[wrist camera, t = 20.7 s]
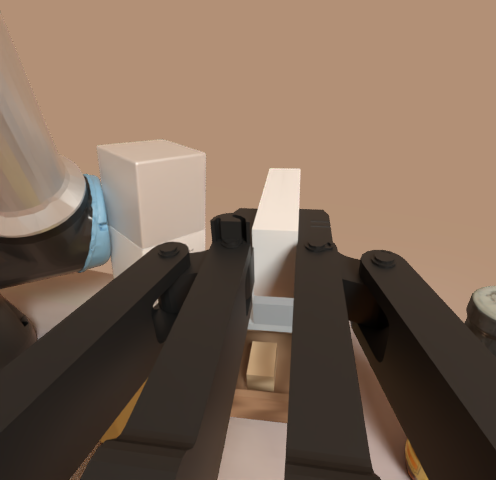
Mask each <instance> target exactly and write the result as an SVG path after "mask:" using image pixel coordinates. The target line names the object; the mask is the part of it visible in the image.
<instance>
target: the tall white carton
mask: <svg viewBox="0 0 496 480" xmlns="http://www.w3.org/2000/svg"><path fill="white" fill-rule="evenodd" d="M97 154H98V162H99V169H100V177H101V184H102V191H103V196H104V201H105V207H106V213H107V222H108V223H107V225H108V229H109V235H110V245H111V261H112V269H113V277H114V279H115V278H116V277H117V276H119V275H120V274H121V273H122V272H124V271H125V270H126V269H127V268H129V267H130V266H131V265H132V264H134V263H135V262H136V261H137V260H139V259H140V258H141V257H142V256H144V255H145V254H146V253H147V252H149V251H150V250H151V249H152V248H154V247H156V246H157V245H160V244H163V243H165V242H180V243H183V244H186V245H187V246H188V248H189V253H194V252H201V251H205V194H206V193H205V192H206V188H205V187H206V154H205V153H204V152H201V151H198V150H195V149H192V148H189V147H186V146H183V145H180V144H176V143H173V142H170V141H167V140H164V139H161V140H149V141H140V142H128V143H119V144H107V145H98V146H97ZM157 303H158V299H157V300H156V302H155V303H154V305H153V307H154V306H155V305H156V304H157Z"/></svg>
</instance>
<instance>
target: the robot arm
mask: <svg viewBox="0 0 496 480" xmlns="http://www.w3.org/2000/svg"><path fill="white" fill-rule="evenodd" d="M299 196H300V169H281V168H275V169H273V168H270V170H269V173H268V177H267V180H266V183H265V187H264V190H263V193H262V197H261V201H260V204H259V207H258V209H247V208H240V209H238V210H237V211H235V212H234V213H226V214H221V215H218V216H216V217H214V218H213V219H212V220H211V232H212V244H211V246H210V249H209V250H206V251H201V252H194V253H189V248H188V246H187V245H186V244H183V243H180V242H165V243H163V244H160V245H157V246H156V247H154V248H152V249H151V250H150V251H149V252H147V253H146V254H145V255H144V256H142V257H141V258H140V259H139V260H137V261H136V262H135V263H134V264H132V265H131V266H130V267H129V268H127V269H126V270H125V271H124V272H122V273H121V274H120V275H119V276H117V277H116V278H115V279H114V280H112V281H111V282H110V283H109V284H107V285H106V286H105V287H104V288H102V289H101V290H100V291H99V292H97V293H96V294H95V295H94V296H92V297H91V298H90V299H89V300H87V301H86V302H85V303H84V304H82V305H81V306H80V307H79V308H77V309H76V310H75V311H74V312H72V313H71V314H70V315H69V316H67V317H66V318H65V319H64V320H62V321H61V322H60V323H59V324H57V325H56V326H55V327H54V328H52V329H51V330H50V331H49V332H48V333H46V334H45V335H44V336H43V337H41V338H40V339H39V340H38V341H37V335H36V332H35V330H34V328H33V326H32V324H31V322H30V320H29V319H28V318H27V317H26V316H25V315H24V314H23V313H22V312H20V311H19V310H18V309H17V308H16V307H15V306H14V305H12V304H11V303H10V302H9V301H8V300H7V299H6V298H4V297H3V296H2V295H1V294H0V480H69V479H70V478H71V477H72V475H73V474H74V473H75V471H76V470H77V469H78V468H79V466H80V465H81V464H82V462H83V461H84V460H85V458H86V457H87V456H88V455H89V453H90V452H91V451H92V449H93V448H94V447H95V446H96V444H97V443H98V442H99V440H100V439H101V438H102V436H103V435H104V434H105V433H106V431H107V430H108V429H109V427H110V426H111V425H112V424H113V422H114V421H115V420H116V418H117V417H118V416H119V415H120V413H121V412H122V411H123V409H124V408H125V407H126V405H127V404H128V403H129V402H130V400H131V399H132V398H133V396H134V395H135V394H136V393H137V391H138V390H139V389H140V387H141V386H142V385H143V383H144V382H145V381H146V380H147V381H146V383H145V385H144V387H143V390H142V392H141V394H140V396H139V398H138V400H137V402H136V404H135V406H134V408H133V411H132V413H131V415H130V417H129V419H128V421H127V423H126V425H125V427H124V429H123V431H122V433H121V434H120V435H119V436H118V437H117V438H115V439H109V440H106V441H105V442H103V443H102V444H101V445H100V446H99V447H98V449H97V450H96V452H95V453H94V455H93V456H92V458H91V460H90V461H89V463H88V465H87V467H86V469H85V471H84V473H83V475H82V477H81V479H80V480H217V478H218V473H219V468H220V463H221V458H222V453H223V448H224V444H225V439H226V434H227V429H228V424H229V419H230V414H231V409H232V404H233V399H234V394H235V389H236V384H237V379H238V374H239V369H240V364H241V359H242V354H243V349H244V344H245V339H246V334H247V329H248V324H249V319H250V314H251V309H252V292H253V287H254V296H269V297H284V298H294V301H293V321H292V341H291V361H290V381H289V402H288V422H287V442H286V461H285V478H284V480H381V479H380V477H379V476H377V475H376V474H375V473H374V471H373V469H372V464H371V459H370V453H369V447H368V440H367V434H366V428H365V421H364V415H363V409H362V402H361V396H360V390H359V383H358V377H357V371H356V364H355V358H354V352H353V345H352V339H351V333H350V326H349V321H351V326H352V329H353V331H354V333H355V335H356V337H357V339H358V341H359V343H360V345H361V347H362V349H363V351H364V353H365V355H366V357H367V359H368V361H369V363H370V365H371V367H372V369H373V371H374V373H375V375H376V377H377V379H378V381H379V383H380V385H381V387H382V389H383V391H384V393H385V395H386V397H387V399H388V401H389V403H390V405H391V406H392V408H393V410H394V412H395V414H396V416H397V418H398V420H399V422H400V424H401V426H402V428H403V430H404V432H405V434H406V436H407V438H408V440H409V442H410V444H411V446H412V448H413V450H414V452H415V454H416V456H417V458H418V460H419V462H420V464H421V466H422V468H423V470H424V472H425V474H426V476H427V478H428V480H496V357H495V356H494V355H493V354H492V353H491V352H490V351H489V350H488V348H487V347H486V346H485V345H484V344H483V343H482V342H481V341H480V340H479V339H478V338H477V337H476V336H475V335H474V333H473V332H472V331H471V330H470V329H469V328H468V327H467V326H466V325H465V324H464V323H463V322H462V321H461V320H460V318H459V317H458V316H457V315H456V314H455V313H454V312H453V311H452V310H451V309H450V308H449V307H448V306H447V305H446V303H445V302H444V301H443V300H442V299H441V298H440V297H439V296H438V295H437V294H436V293H435V292H434V290H433V289H432V288H431V287H430V286H429V285H428V284H427V283H426V282H425V281H424V280H423V279H422V278H421V276H420V275H419V274H418V273H417V272H416V271H415V270H414V269H413V268H412V267H411V266H410V265H409V264H408V263H407V261H405V259H403V258H402V257H401V256H399V255H397V254H395V253H392V252H390V251H386V250H372V251H367V252H366V253H364V254H362V257H361V260H358V259H354V258H350V257H346V256H344V255H342V254H340V253H339V252H338V251H337V247H336V245H335V243H333V241H332V234H331V228H330V220H329V215H328V214H327V213H326V212H324V210H310V209H299ZM107 223H108V222H107V213H106V207H105V201H104V196H103V191H102V186H101V183H100V180H99V178H98V177H97V176H94V175H88V174H82V172H81V170H80V169H79V167H78V166H77V165H76V164H75V163H74V162H73V161H71V160H70V159H68V158H67V157H65V156H63V155H60V154H58V151H57V149H56V146H55V144H54V141H53V139H52V137H51V134H50V132H49V129H48V127H47V125H46V122H45V119H44V117H43V115H42V112H41V110H40V107H39V105H38V102H37V100H36V97H35V95H34V92H33V90H32V88H31V85H30V83H29V80H28V78H27V75H26V73H25V71H24V68H23V66H22V63H21V61H20V58H19V56H18V53H17V51H16V48H15V46H14V44H13V41H12V39H11V36H10V34H9V31H8V29H7V26H6V24H5V21H4V19H3V17H2V14H1V12H0V289H3V288H7V287H12V286H16V285H21V284H25V283H30V282H34V281H38V280H43V279H47V278H52V277H56V276H61V275H66V274H70V273H75V272H78V273H81V272H84V271H86V270H87V269H90V268H94V267H97V266H101V265H103V264H105V263H106V262H107V261H108V260H109V258H110V255H111V245H110V235H109V229H108V225H107ZM157 299H158V303H157V304H156V305H155V306H154V307H153V305H154V303H155V302H156V300H157ZM147 378H148V379H147Z"/></svg>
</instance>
